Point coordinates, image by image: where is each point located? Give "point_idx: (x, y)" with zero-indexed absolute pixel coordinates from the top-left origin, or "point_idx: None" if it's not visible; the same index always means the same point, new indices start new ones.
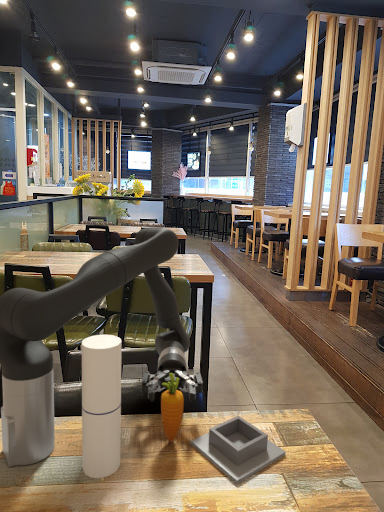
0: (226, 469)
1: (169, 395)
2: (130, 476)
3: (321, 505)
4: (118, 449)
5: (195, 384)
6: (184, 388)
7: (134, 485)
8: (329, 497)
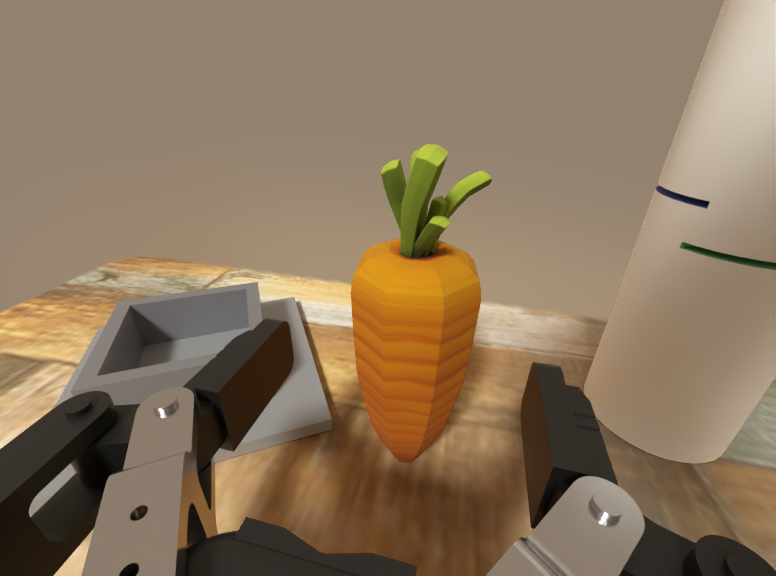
0: (295, 317)
1: (439, 241)
2: (537, 360)
3: (195, 264)
4: (602, 336)
5: (131, 429)
6: (213, 529)
7: (521, 339)
8: (165, 268)
